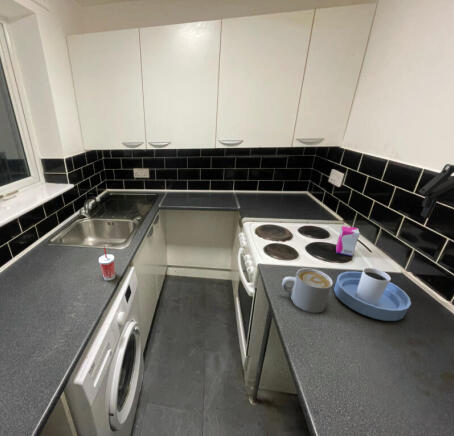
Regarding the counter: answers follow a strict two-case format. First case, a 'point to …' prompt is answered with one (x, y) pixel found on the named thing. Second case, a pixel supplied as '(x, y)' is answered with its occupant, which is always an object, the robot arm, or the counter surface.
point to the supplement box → (347, 240)
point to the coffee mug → (309, 289)
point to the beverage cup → (107, 266)
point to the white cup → (372, 285)
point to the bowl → (384, 310)
